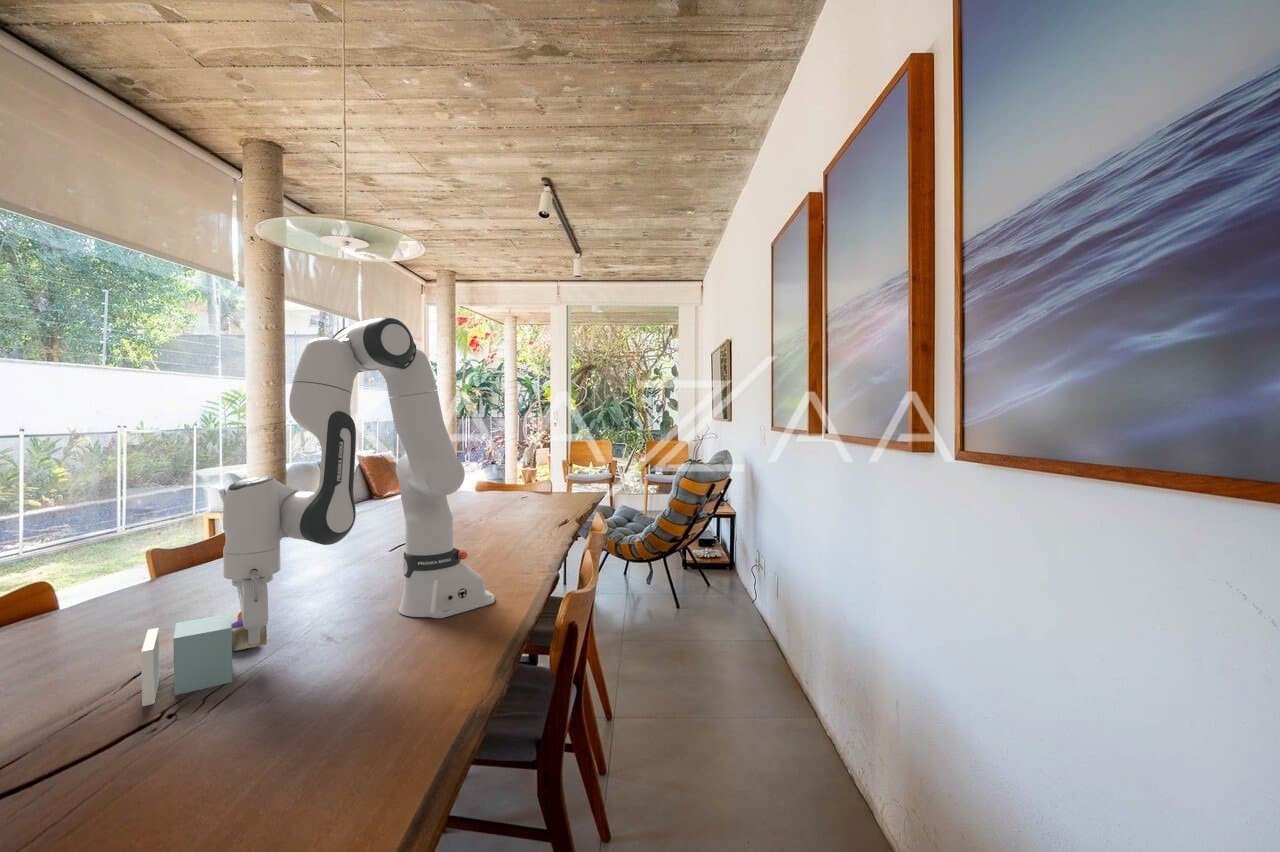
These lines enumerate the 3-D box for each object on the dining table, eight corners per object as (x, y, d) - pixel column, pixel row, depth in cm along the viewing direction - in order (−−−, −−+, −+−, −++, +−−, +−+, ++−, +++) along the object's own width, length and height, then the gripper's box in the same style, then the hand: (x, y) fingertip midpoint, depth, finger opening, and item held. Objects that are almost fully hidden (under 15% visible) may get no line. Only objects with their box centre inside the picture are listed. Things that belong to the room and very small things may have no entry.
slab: (159, 676, 103) (158, 627, 103) (154, 703, 93) (153, 649, 93) (148, 679, 102) (147, 629, 102) (142, 706, 92) (141, 651, 92)
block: (231, 664, 108) (230, 613, 108) (232, 682, 101) (231, 627, 101) (177, 676, 103) (176, 622, 103) (174, 695, 96) (173, 638, 96)
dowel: (265, 640, 109) (265, 619, 109) (266, 648, 106) (266, 626, 106) (199, 653, 103) (199, 630, 103) (198, 661, 100) (198, 638, 100)
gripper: (277, 573, 100) (278, 651, 100) (268, 551, 116) (269, 618, 116) (233, 579, 96) (234, 661, 96) (230, 556, 112) (231, 625, 112)
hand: (253, 637), depth 106 cm, fingers closed on dowel, 4 cm apart
